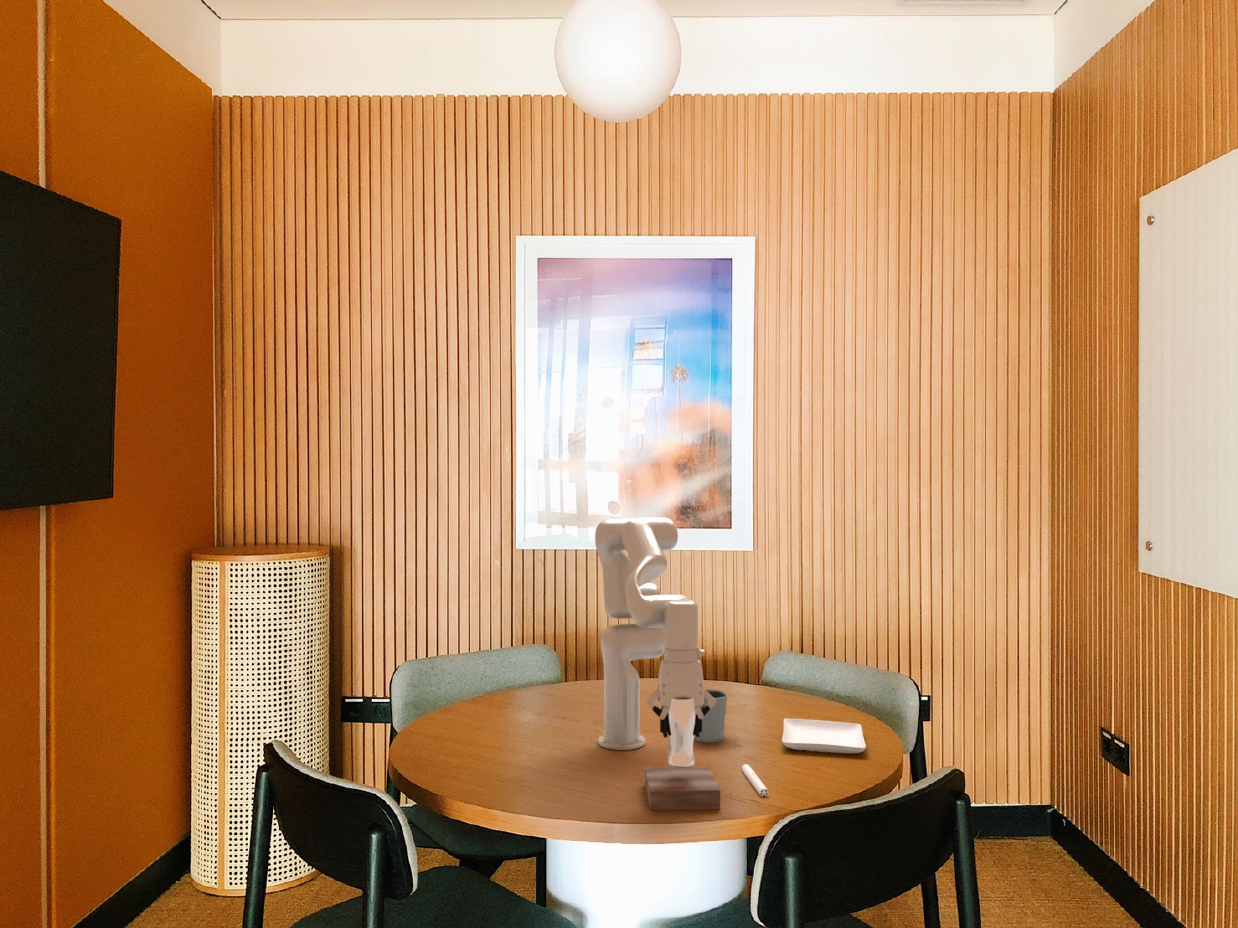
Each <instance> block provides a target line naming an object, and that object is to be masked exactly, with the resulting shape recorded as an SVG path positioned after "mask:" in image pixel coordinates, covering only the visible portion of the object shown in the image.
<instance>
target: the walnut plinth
mask: <svg viewBox="0 0 1238 928" xmlns="http://www.w3.org/2000/svg"><path fill="white" fill-rule="evenodd" d="M644 787H646V788H645V792H646V797H647V796H648V797H647V800H649V801H648V805H649V808H650V811H675V810H676V811H678V810H679V811H685V810H720V809H721V789H720V787H719V785H718V783H717V780H716V778H715V776H714V774H713V772H712V770H711V768H710V766H709V765H708V766H707V765H706V766H701V765H700V766H690V767H674V766H654V767H653V766H652V767H651V766H649V767H648V766H646V767H644Z"/></svg>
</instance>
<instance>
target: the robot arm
mask: <svg viewBox="0 0 1238 928" xmlns="http://www.w3.org/2000/svg"><path fill="white" fill-rule="evenodd" d="M678 532H679V531H678V529H677V526H676V524H675V523H674V522H673V520H672V519H671V518H669V517H664V516H663V517H660V516H659V517H635V518H633V517H632V518H631V517H628V518H626V517H624V518H609V519H605V520H602V521H601V522H599V523H598V525H596V528H595V531H594V533H595V534H594V542H595V548H596V552H597V555H598V558H599V560H600V564H601V568H602V581H603V583H602V584H603V601H604V610H605V612H606V615H607V617H609V618H611V619H616V620H629V619H632V620H633V623H621V624H619V623H618V624H612V625H609V626H607V627H605V629H604V630H603V631H602V632H601V636H600V647H601V653H602V660H603V661H602V662H603V691H604V692H603V734H602V735H600V736H599V737H598V739H597V744H598V745H599V746H600V747H602V748H605V749H608V750H609V749H610V750H613V751H629V750H636V749H639V748H641V747H643V746H644V745H645V744H646V738H645V737H644V735H642V734H640V729H641V727H640V724H641V723H640V716H641V715H640V707H641V706H640V705H641V702H640V698H641V697H640V692H641V691H640V686H641V685H640V679H641V678H640V674H639V672H638V671H637V670H636V668H635V667H634V666H633V665H632V663H631V661H636V660H647V659H650V660H651V659H657V658H659V657H661V656H664V659H661V661H660V662H659V669H658V680H657V681H658V682H657V688H656V690H655V691H653V693H652V694H651V695H650V696H648V698H646V699H645V703H646V705H647V706H648V707H649V708H650V709H651V710H652V711H653V712H654V713H655V714H656V716H657V717H658V718H659V729H660V730H659V731H660V733H661V734H662V736H663V738H665V739H666V738H668V732H667V719H666V715H667V713H668V708H669V707H670V704H671V700H672V698H674V699H691V698H694V704H695V707H696V713H697V720H696V729H695V735H696V737H699V732H702V719H703V718H704V716H705V715H706V714H707V713H708V712H709V711H710V709H711V708H712V707H713V706H714V705H715V704H716V700H715V698H714V697H713V696H711V695H710V694H709V693H708V692H707V691H706V690H707V689H705V687H704V686H705V684H704V674H703V667H702V662H701V660H700V658H701V657H705V649H700V648H699V606H698V604H697V602H695V600H691V599H689V598H688V597H687V595H684V594H681V593H679V594H678V593H677V594H675V593H672V594H662V592H661V589H660V587H659V586H658V585H657V584H655V583H653V582H652V581H654V580H656V579H657V578H659V577H661V576H662V575H663V574H664V572H665V571H666V569H667V566H668V560H667V558H666V555H665V553H664V551H670V550H673V549H674V548H675V547H676V546H677V543H678V540H679V534H678ZM624 551H626V553H627V554H626V553H625V552H624ZM663 654H664V655H663ZM704 697H705V698H706V699H707V700H708V702H707V703H706V704H705V705H704V706H703V707H702V708H701V709H700V706H702V705H703V704H704ZM657 700H658V702H659V705H660V706H661V707H659V706H657V705H656V703H655V701H657Z"/></svg>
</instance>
